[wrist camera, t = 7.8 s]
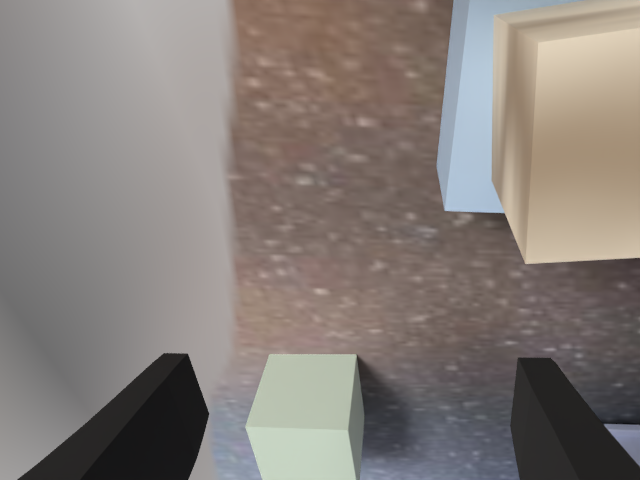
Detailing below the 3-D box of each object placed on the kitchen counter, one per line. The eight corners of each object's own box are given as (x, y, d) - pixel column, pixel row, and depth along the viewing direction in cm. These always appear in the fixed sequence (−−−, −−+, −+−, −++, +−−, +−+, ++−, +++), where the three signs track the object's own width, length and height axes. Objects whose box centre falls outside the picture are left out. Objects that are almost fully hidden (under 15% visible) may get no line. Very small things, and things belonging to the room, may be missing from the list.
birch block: (662, 164, 13) (770, 250, 9) (491, 180, 14) (525, 263, 10) (699, -19, 11) (860, -6, 7) (493, 14, 12) (538, 42, 8)
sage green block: (364, 414, 26) (358, 494, 22) (285, 412, 27) (265, 488, 23) (356, 353, 23) (348, 430, 20) (269, 353, 24) (245, 426, 20)
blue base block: (633, 168, 17) (691, 220, 14) (436, 163, 18) (444, 210, 15) (708, -60, 14) (811, -67, 10) (458, -51, 15) (476, -54, 11)
